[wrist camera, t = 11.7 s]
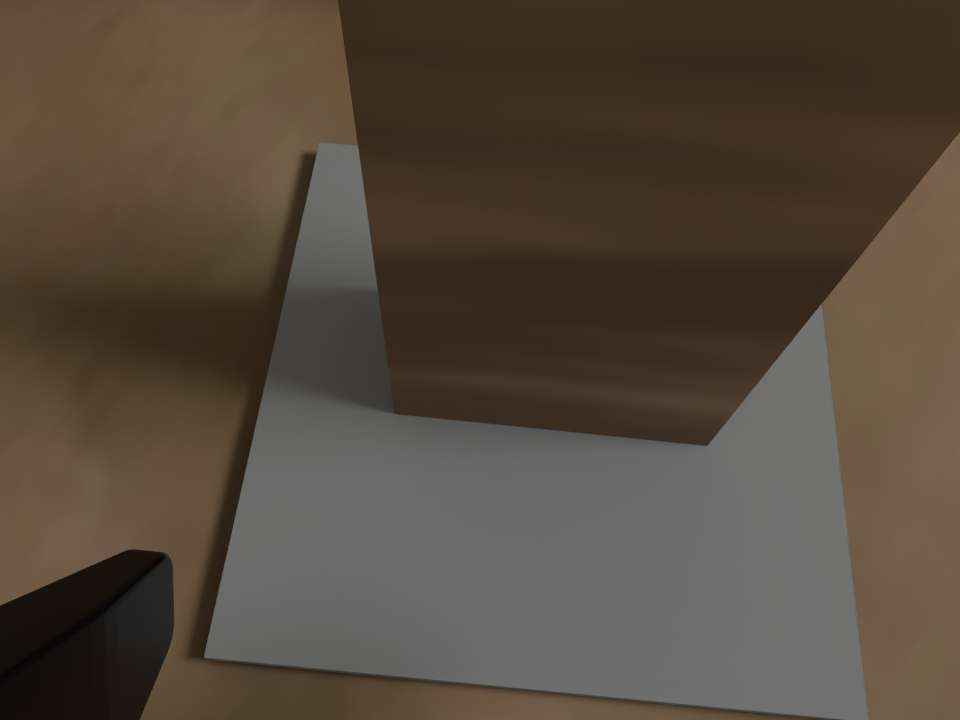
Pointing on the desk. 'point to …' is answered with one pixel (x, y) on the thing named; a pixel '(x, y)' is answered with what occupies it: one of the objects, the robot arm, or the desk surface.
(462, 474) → the grey square plate
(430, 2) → the walnut panel
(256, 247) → the desk surface
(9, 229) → the desk surface
